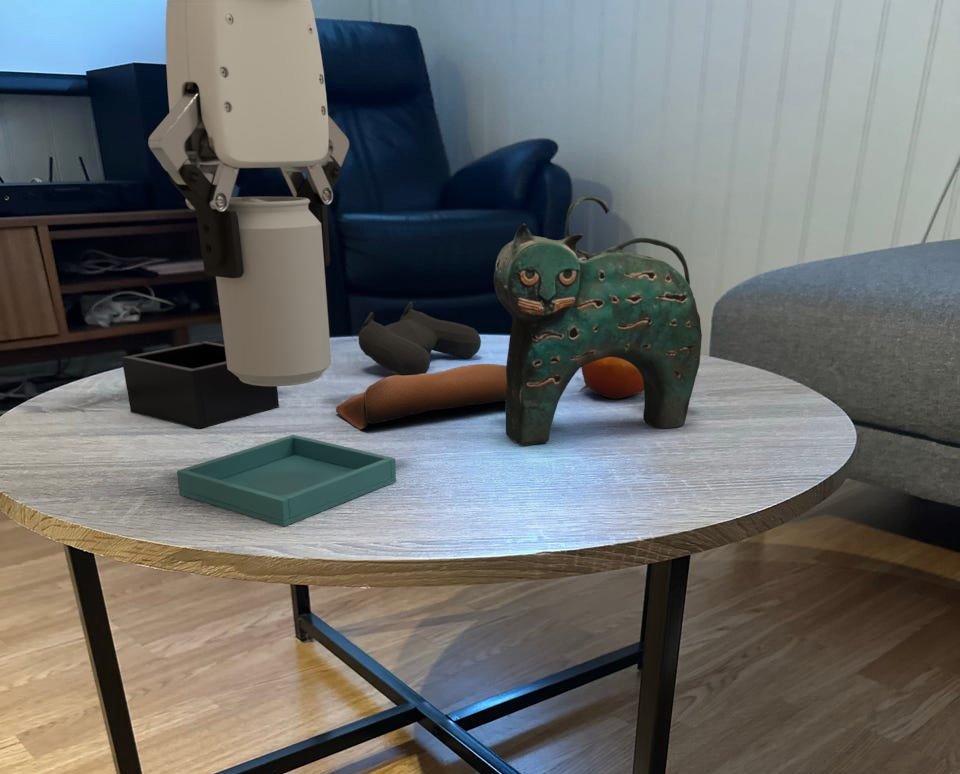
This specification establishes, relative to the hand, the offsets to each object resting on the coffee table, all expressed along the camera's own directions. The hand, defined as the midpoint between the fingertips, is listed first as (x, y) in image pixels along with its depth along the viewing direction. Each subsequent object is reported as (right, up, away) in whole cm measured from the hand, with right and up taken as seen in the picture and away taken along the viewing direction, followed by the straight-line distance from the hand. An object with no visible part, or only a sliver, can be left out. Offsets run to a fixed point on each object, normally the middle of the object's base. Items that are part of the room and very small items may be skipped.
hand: (269, 268), depth 65 cm
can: (0, -7, +4) cm, 8 cm away
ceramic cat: (+25, -7, +22) cm, 34 cm away
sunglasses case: (+10, -3, +28) cm, 30 cm away
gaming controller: (+7, +7, +47) cm, 48 cm away
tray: (0, -14, +7) cm, 16 cm away
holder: (-13, -3, +28) cm, 31 cm away
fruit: (+29, 0, +35) cm, 45 cm away
